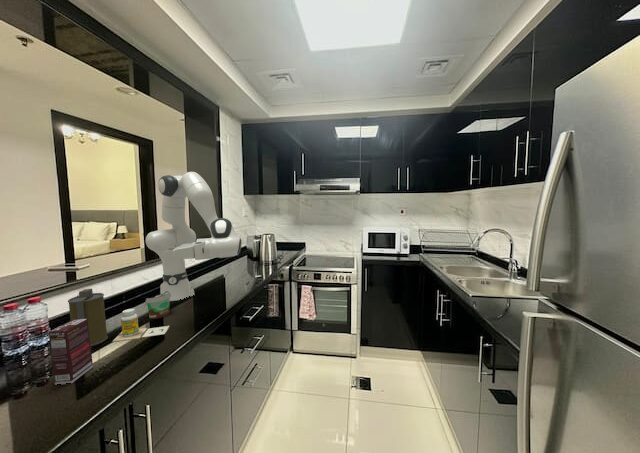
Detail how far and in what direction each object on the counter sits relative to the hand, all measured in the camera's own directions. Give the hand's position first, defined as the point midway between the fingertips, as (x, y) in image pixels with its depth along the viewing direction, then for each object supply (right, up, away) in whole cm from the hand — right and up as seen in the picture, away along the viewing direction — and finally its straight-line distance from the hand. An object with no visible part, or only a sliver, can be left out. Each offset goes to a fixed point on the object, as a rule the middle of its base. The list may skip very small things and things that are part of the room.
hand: (165, 251), depth 112 cm
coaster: (-12, -33, -4) cm, 35 cm away
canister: (-24, -34, -8) cm, 42 cm away
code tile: (-3, -32, -1) cm, 32 cm away
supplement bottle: (-12, -32, -4) cm, 35 cm away
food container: (-10, -32, +16) cm, 37 cm away
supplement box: (-10, -35, -30) cm, 47 cm away
